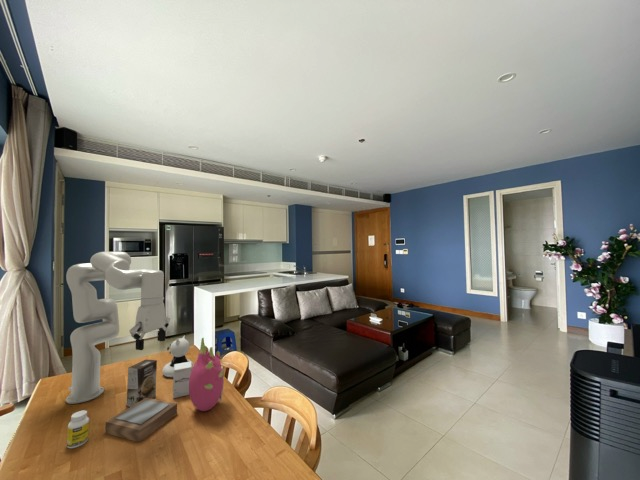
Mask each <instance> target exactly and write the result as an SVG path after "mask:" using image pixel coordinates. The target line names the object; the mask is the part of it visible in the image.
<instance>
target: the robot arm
mask: <svg viewBox="0 0 640 480" xmlns="http://www.w3.org/2000/svg"><path fill="white" fill-rule="evenodd" d="M131 263H132V257H131V256H130V254H128V253H127V252H125V251H99V252H96V253H95V254H93V255H92V256H91V258H90V261H89V262H87V263H86V262H85V263H84V262H83V263H77V264H73V265H71V266H70V267H68V269H67V271H66V275H65V276H66V278H65V279H66V283H67V285H68V288H69V290H70V293H71V299H72V312H73V313H72V314H73V320H74V321H75V323H79V324H81V323H82V324H84V323H90V322H94V321H95V323H92V324H87V325H82V326H80V327H77V328H75V329H74V330H73V331H71V334H70V336H69V338H70V346H71V350H72V351H71V352H72V359H71V360H72V363H71V365H72V368H71V369H72V371H71V386H69V387H68V388H67V390H68V391H70V394H69V395H68V396H67V397H65V398H66V399H65V402H66V403H67V404H70V405H71V404H72V405H73V404H74V405H75V404H81V403H86V402H88V401H91V400H93V399H96V398H97V397H100V396H101V395H102V394H104V391H105V388H104V387H103V386H101V385H100V384H101V379H100V378H101V352H100V350H99V349H98V348H97V347H95V346H96V345H99V344H102V343H106V342H109V341H112V340H114V339H116V338H117V337H118V336H119V333H120V319H119V310H118V304H117V303H116V301H115V300H114V299H113V298H110V297H109V298H100V299H98V293H97V289H96V288H95V286H94V285H92V284H91V283H90V282H97V281H98V282H100V281H105V282H107V285H109V286H111V287H113V288H115V289H117V290H119V291H121V290H123V291H125V290H132V289H133V290H134V289H140V305H139V306H138V308H137V312H136V317H135V323H134V326H133V327H131V328H130V329H129V333H130V337H131V338H133V339H134V340H135V350H136V351H144V349H145V339H144V336H145V335H146V334H148V333H150V332H154V331H156V330H158V331H157V341H158V342H165V341H166V332H167V330H168V327H169V325H170V322H171V318H170V317H169V316H168V317H167V316H166V307H165V303H164V300H165V297H164V282H165V280H164V279H165V278H164V277H165V275H164V274H165V273H164V271H163V270H160V269H156V270H155V269H154V270H153V269H150V268H149V269H148V268H145V269H143V268H142V269H130V268H131V267H130V266H131ZM99 320H102V321H101V322H96V321H99Z"/></svg>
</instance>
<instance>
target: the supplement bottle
mask: <svg viewBox="0 0 640 480" xmlns="http://www.w3.org/2000/svg"><path fill="white" fill-rule="evenodd" d="M89 429H90V417H88V410H85V409H84V410H83V409H82V410H79V411H76V412H73V413H72V415H71V416H70V421H69V422H68V425H67V433H66V434H67V437H66V447H67V448H68V449H75V448H78V447H81V446H83V445H84V444H86V443H87V441H88V439H89V434H90V432H89Z"/></svg>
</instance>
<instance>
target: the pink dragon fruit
mask: <svg viewBox="0 0 640 480" xmlns="http://www.w3.org/2000/svg"><path fill="white" fill-rule="evenodd" d="M204 340H205V338H204V337H202V338H201V339H200V341H201V342H200V348H199V352H198V354H197V358H196V359H197V360H196V361H195V363H193V368H192V370H191V374H190V379H189V394H190V395H189V398H190V401H191V403H192V404H193V406H194V407H195V408H196V409H197V410H198V411H201V412H206V411H210V410H211V409H212V408H214V406H216V404H217V403H218V402H219V404H221V403H222V400H223V391H224V383H225V382H224V375H225V374H224V369H223V368H222V367H223V366H222V364H221V351H219V350H217V351H216V353H215V354H214V349H213V347H212V346H211V347H208V346H206V345H205V341H204Z"/></svg>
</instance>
